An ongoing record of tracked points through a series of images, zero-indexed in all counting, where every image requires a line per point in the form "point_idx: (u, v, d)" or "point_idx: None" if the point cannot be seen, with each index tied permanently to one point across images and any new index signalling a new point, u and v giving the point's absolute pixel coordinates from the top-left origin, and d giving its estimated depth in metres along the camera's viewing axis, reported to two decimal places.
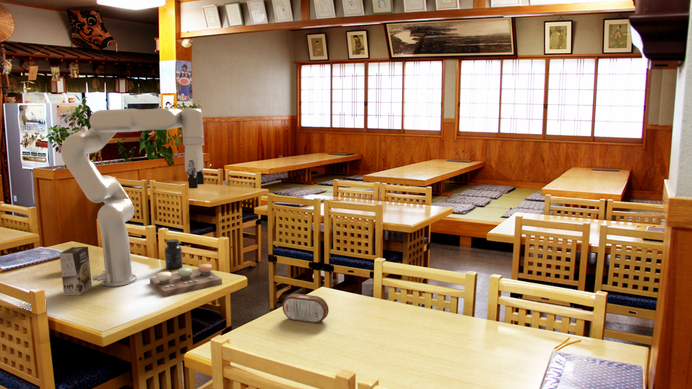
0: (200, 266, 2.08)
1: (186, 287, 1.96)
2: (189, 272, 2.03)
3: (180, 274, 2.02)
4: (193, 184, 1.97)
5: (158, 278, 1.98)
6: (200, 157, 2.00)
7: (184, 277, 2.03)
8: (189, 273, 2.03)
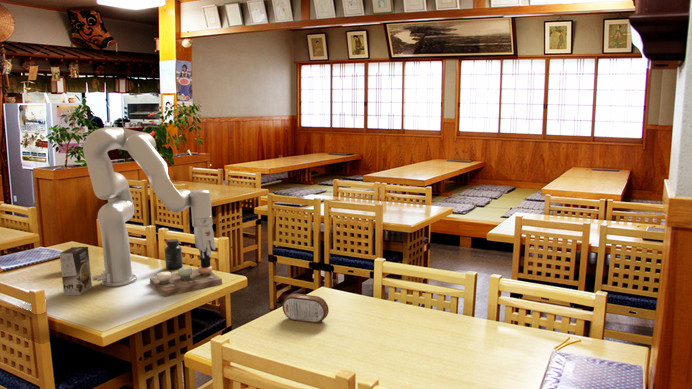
0: (200, 267, 2.08)
1: (186, 287, 1.96)
2: (189, 272, 2.03)
3: (180, 274, 2.02)
4: None
5: (158, 278, 1.98)
6: (196, 237, 2.06)
7: (184, 277, 2.03)
8: (189, 273, 2.03)
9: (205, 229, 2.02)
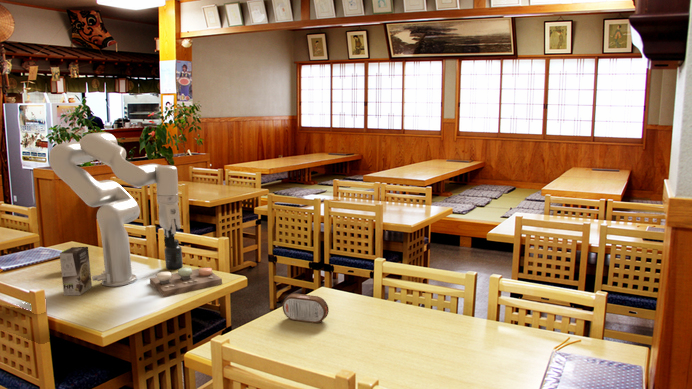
0: (200, 270, 2.08)
1: (186, 287, 1.96)
2: (189, 272, 2.03)
3: (180, 274, 2.02)
4: None
5: (158, 278, 1.98)
6: (160, 214, 1.97)
7: (184, 277, 2.03)
8: (189, 273, 2.03)
9: (170, 207, 1.94)
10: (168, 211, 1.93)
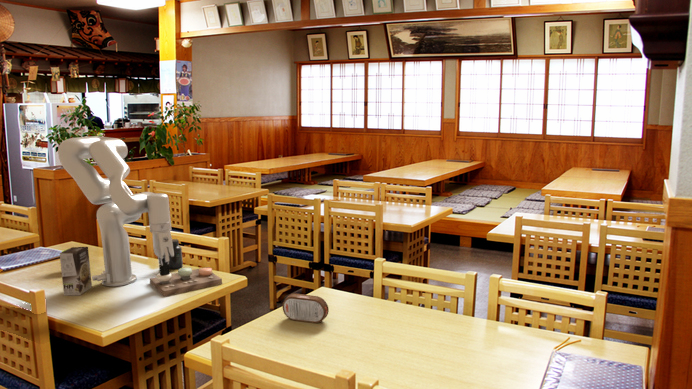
0: (200, 270, 2.08)
1: (186, 287, 1.96)
2: (189, 272, 2.03)
3: (180, 274, 2.02)
4: None
5: (158, 279, 1.98)
6: (154, 243, 1.97)
7: (184, 277, 2.03)
8: (189, 273, 2.03)
9: (163, 235, 1.93)
10: (160, 239, 1.93)
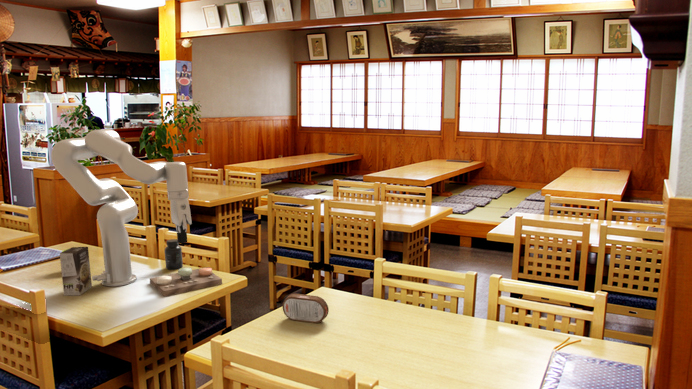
0: (200, 270, 2.08)
1: (186, 287, 1.96)
2: (189, 272, 2.03)
3: (180, 274, 2.02)
4: None
5: (158, 282, 1.98)
6: (172, 211, 1.99)
7: (184, 277, 2.03)
8: (189, 273, 2.03)
9: (180, 202, 1.95)
10: (178, 207, 1.95)
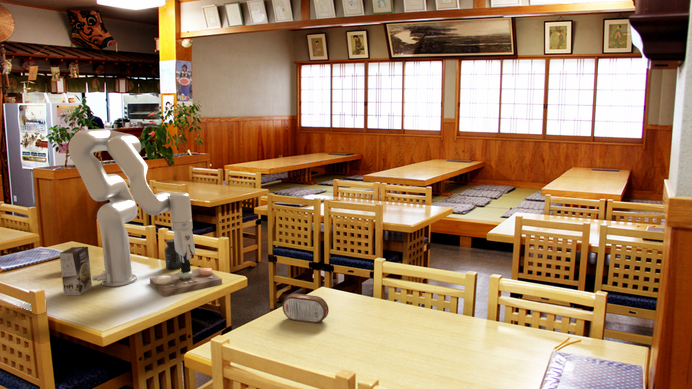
0: (200, 270, 2.08)
1: (186, 287, 1.96)
2: (189, 274, 2.03)
3: (180, 276, 2.02)
4: None
5: (158, 282, 1.98)
6: (176, 241, 2.02)
7: (184, 279, 2.03)
8: (189, 275, 2.03)
9: (184, 233, 1.98)
10: (182, 237, 1.97)
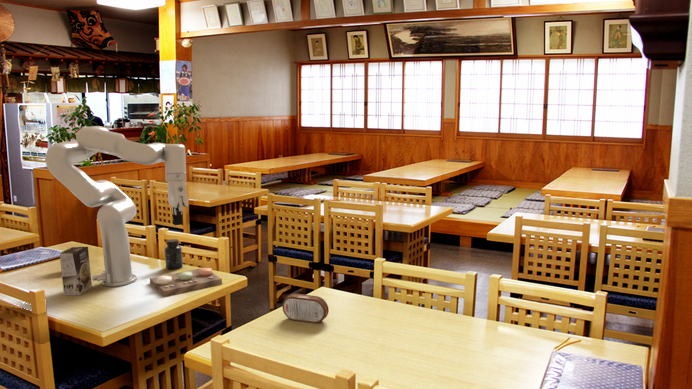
0: (200, 270, 2.08)
1: (186, 287, 1.96)
2: (189, 276, 2.03)
3: (180, 278, 2.02)
4: None
5: (158, 282, 1.98)
6: (169, 192, 2.01)
7: None
8: (189, 277, 2.03)
9: (178, 184, 1.96)
10: (175, 188, 1.96)
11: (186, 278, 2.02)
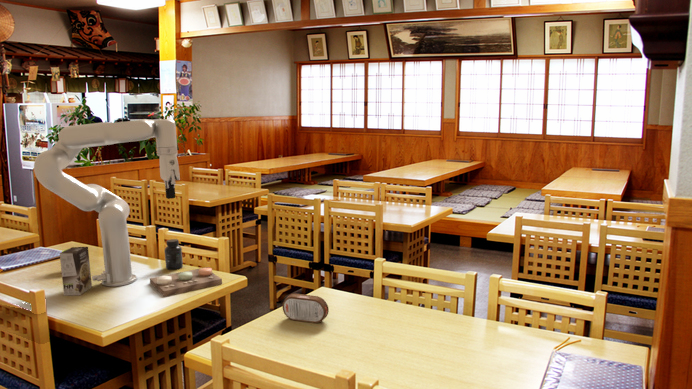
0: (200, 270, 2.08)
1: (186, 287, 1.96)
2: (189, 276, 2.03)
3: (180, 278, 2.02)
4: None
5: (158, 282, 1.98)
6: (161, 167, 2.06)
7: None
8: (189, 277, 2.03)
9: (169, 158, 2.02)
10: (167, 162, 2.02)
11: (186, 278, 2.02)
